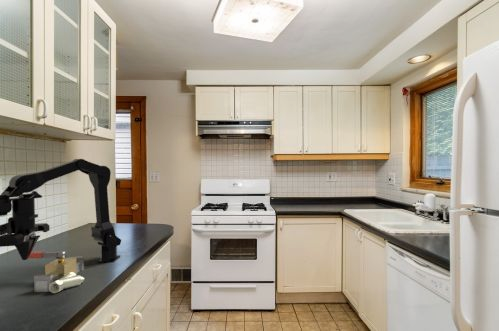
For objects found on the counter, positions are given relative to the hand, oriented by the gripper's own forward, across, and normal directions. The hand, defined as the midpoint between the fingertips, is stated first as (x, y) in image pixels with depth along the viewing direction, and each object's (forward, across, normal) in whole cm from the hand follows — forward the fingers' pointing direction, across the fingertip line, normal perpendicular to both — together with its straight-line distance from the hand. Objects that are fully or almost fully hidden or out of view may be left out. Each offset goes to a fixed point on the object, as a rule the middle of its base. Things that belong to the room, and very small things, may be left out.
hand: (25, 259), depth 88 cm
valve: (+9, -3, +9) cm, 13 cm away
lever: (+1, -4, +5) cm, 6 cm away
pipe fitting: (+10, +4, +14) cm, 18 cm away
